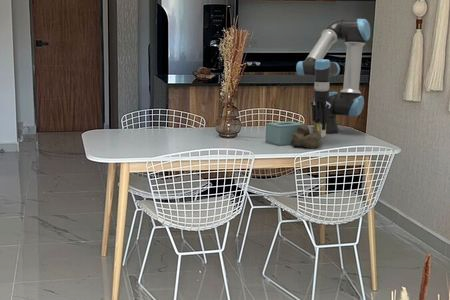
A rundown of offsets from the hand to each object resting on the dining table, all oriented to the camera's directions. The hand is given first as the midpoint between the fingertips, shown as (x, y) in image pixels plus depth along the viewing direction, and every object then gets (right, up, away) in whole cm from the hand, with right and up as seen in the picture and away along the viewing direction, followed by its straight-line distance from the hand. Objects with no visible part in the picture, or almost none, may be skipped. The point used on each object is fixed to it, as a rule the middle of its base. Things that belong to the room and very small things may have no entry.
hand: (320, 135), depth 307 cm
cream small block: (0, -1, 0) cm, 1 cm away
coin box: (-18, -4, +2) cm, 19 cm away
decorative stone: (-8, -6, -8) cm, 13 cm away
